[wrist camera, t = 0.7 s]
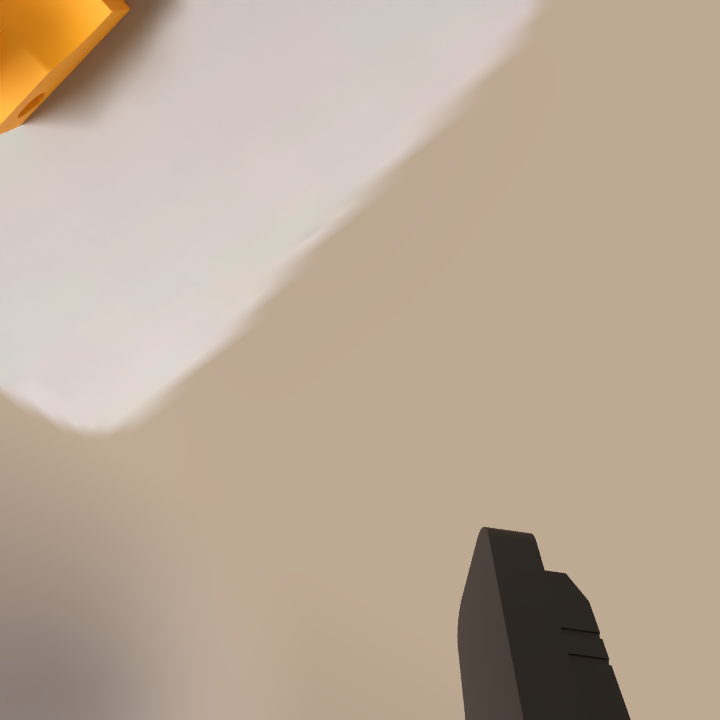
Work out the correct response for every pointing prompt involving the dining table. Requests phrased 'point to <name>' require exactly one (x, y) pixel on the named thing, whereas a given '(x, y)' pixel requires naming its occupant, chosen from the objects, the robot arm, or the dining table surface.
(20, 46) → the pipe clamp
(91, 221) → the dining table surface
